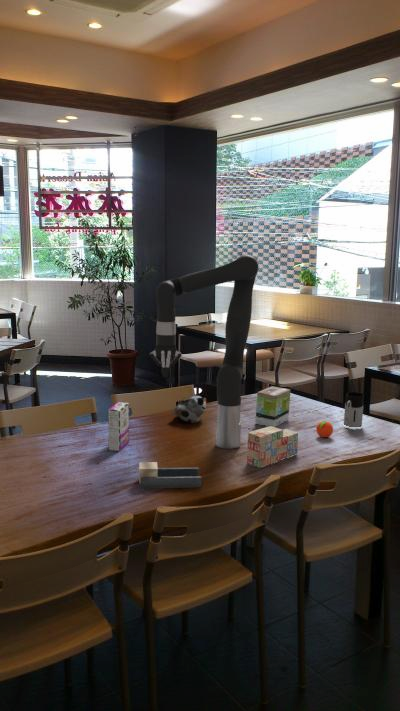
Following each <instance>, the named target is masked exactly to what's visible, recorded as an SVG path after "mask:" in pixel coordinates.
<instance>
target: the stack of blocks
mask: <svg viewBox="0 0 400 711" xmlns="http://www.w3.org/2000/svg"><path fill="white" fill-rule="evenodd" d="M247 435H248V436H247V437H248V438H247V453H246V454H247V455H246V456H247V457H246V459H247V460H246V464H247V463H249V464H248V465H250V464H251V466H252V465H254V466H253V467H255V466H257V467H261V468H263V467H262V466H264V467H266V466H265V465H268V464H271V463H274V462H276V461H279V460H281V459H283V458H287V457H290V456H292V455H295V454H297V455H298V447H299V446H298V444H299V433H298V432H296V431H294V430H290V429H287V428H285V429H282V428H278V427H272V426H265V427H263V428H259V429H256V430H252V431H249V432H248V434H247ZM279 462H280V461H279ZM276 463H277V462H276ZM274 464H275V463H274ZM271 465H272V464H271ZM268 466H269V465H268ZM257 467H256V468H257Z"/></svg>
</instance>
